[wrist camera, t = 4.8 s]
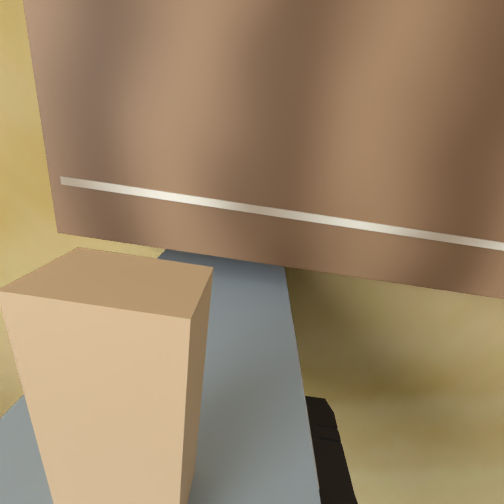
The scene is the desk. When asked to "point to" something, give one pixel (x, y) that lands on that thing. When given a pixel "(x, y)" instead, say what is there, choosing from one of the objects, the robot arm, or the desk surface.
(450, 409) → the desk surface
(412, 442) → the desk surface
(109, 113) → the plank
